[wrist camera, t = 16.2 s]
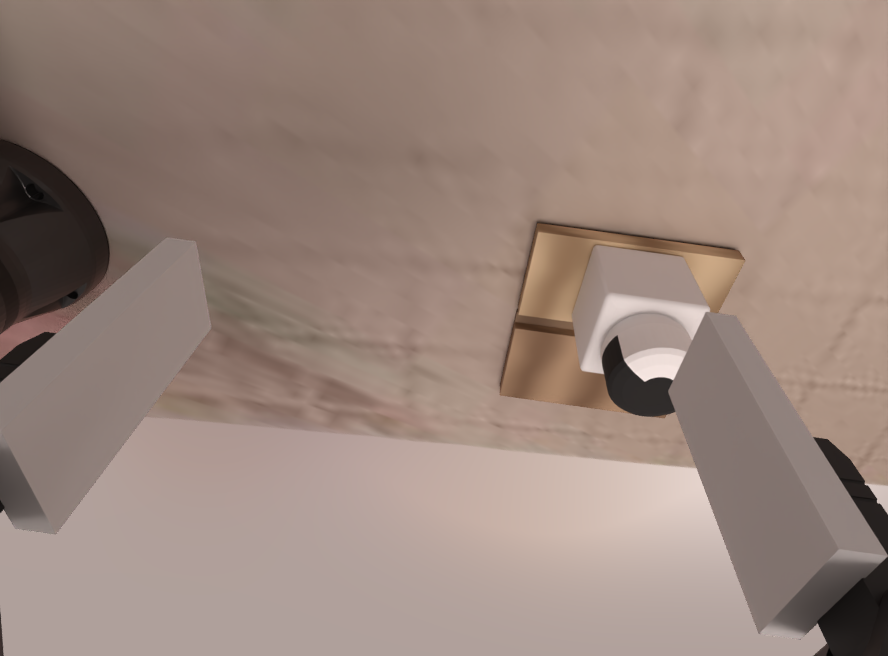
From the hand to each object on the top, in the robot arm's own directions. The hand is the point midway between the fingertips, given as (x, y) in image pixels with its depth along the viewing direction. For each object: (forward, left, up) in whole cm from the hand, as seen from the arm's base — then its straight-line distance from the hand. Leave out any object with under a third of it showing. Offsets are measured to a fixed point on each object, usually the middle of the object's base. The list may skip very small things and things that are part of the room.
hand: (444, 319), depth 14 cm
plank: (+14, -13, -28) cm, 34 cm away
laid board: (+14, -22, -29) cm, 39 cm away
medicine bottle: (+14, -13, -27) cm, 33 cm away
